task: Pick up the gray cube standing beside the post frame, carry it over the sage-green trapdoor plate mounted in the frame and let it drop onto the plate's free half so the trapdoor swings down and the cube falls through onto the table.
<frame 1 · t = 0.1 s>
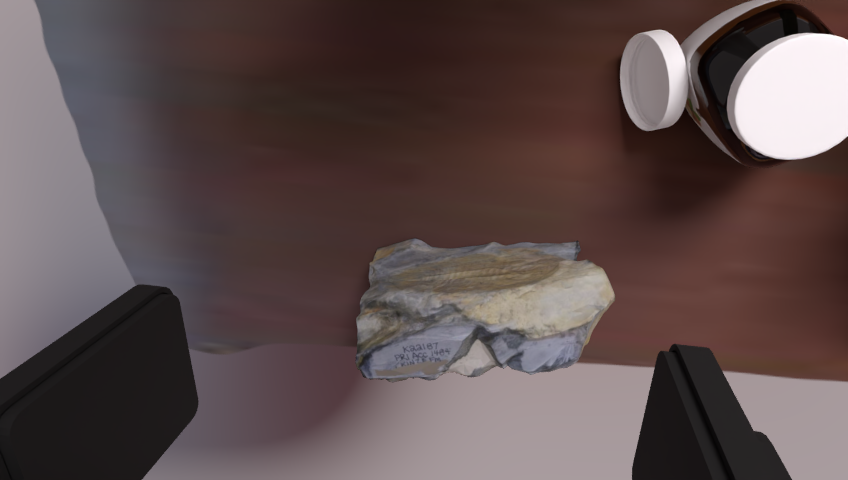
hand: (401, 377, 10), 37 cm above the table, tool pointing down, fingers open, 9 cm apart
spread jar: (700, 79, 40), on the table
fossil rock: (488, 282, 51), on the table
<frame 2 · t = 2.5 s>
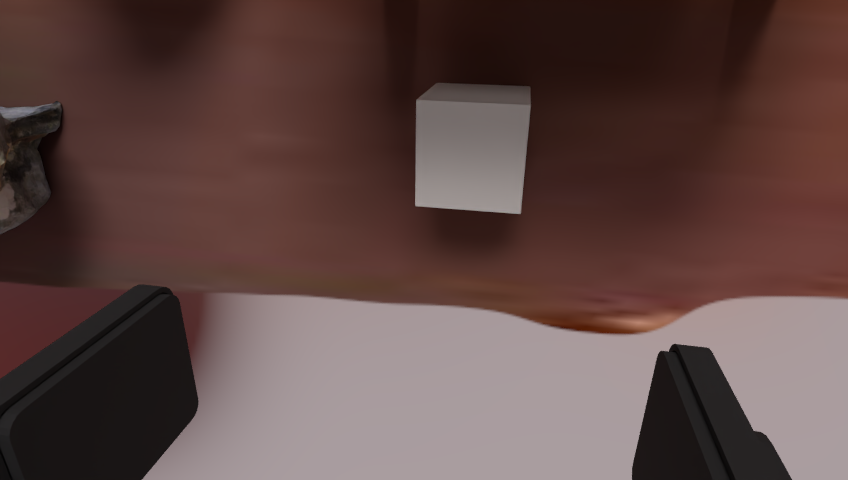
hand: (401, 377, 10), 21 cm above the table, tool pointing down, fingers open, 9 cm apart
gray cube: (480, 130, 30), on the table
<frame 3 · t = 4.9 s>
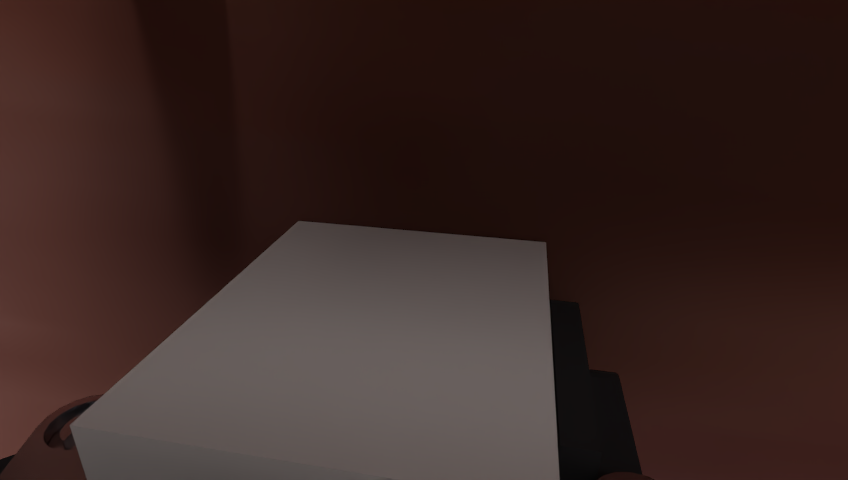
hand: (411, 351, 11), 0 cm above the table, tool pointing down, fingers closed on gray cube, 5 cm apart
gray cube: (416, 337, 12), on the table, touching gripper
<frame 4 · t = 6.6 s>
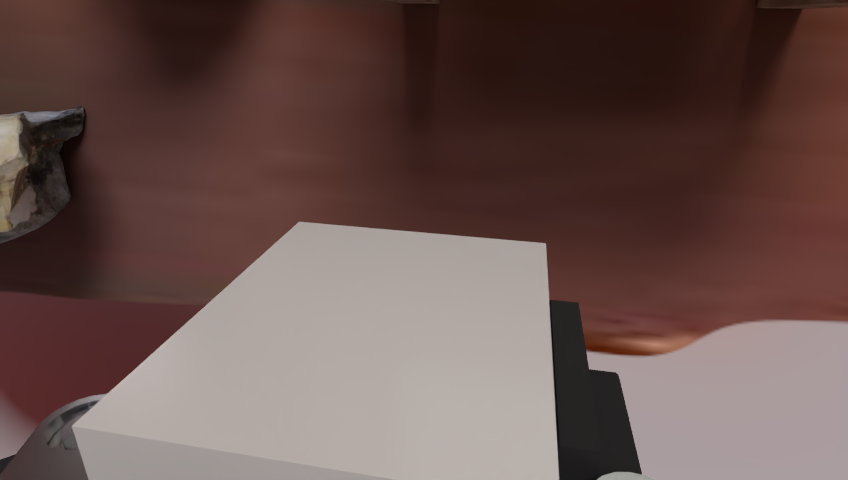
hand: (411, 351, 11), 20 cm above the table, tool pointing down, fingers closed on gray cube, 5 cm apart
gray cube: (416, 338, 12), point 20 cm above the table, touching gripper
fossil rock: (9, 174, 37), on the table
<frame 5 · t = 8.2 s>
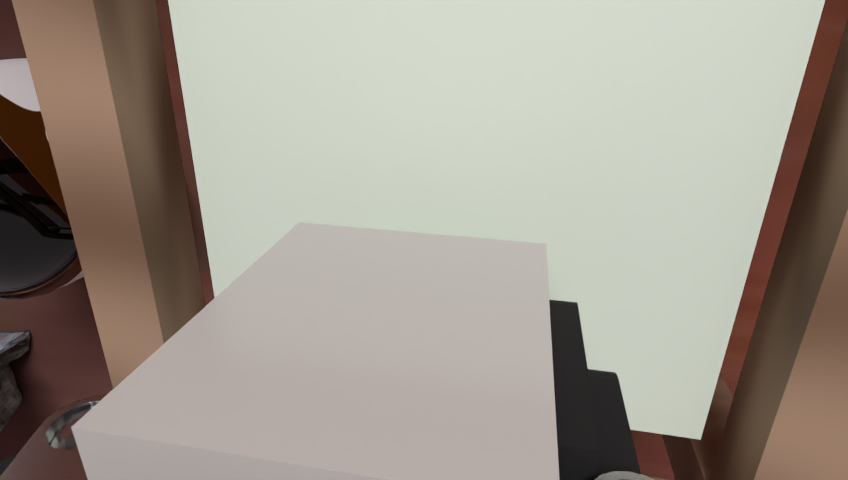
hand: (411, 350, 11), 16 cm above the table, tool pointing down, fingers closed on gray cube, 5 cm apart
gray cube: (416, 338, 12), point 15 cm above the table, touching gripper
trapdoor: (455, 196, 13), point 12 cm above the table, hinge at 0.0°
spread jar: (83, 155, 30), on the table
trapdoor frame: (493, 124, 25), on the table
when the fingers open (16 cm above the table, at t = 8.4 s): gray cube drops 9 cm and tips over, point 6 cm above the table.
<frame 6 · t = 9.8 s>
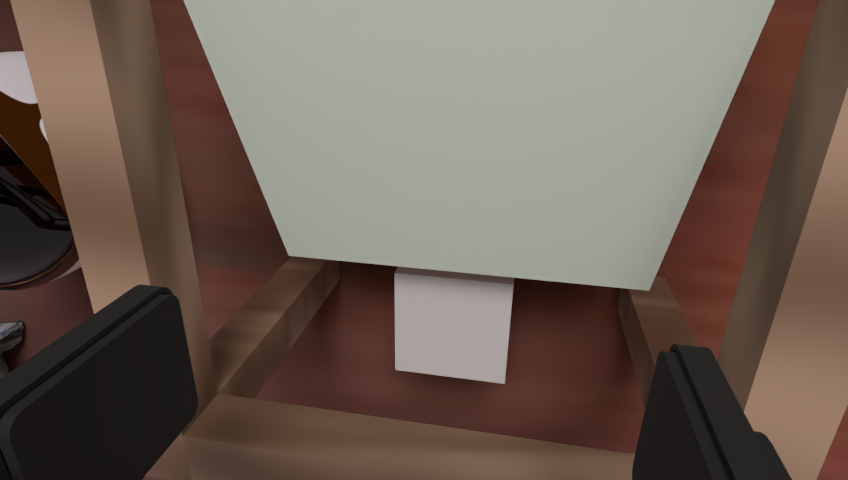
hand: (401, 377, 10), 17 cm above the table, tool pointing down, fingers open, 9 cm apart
gray cube: (450, 329, 23), point 6 cm above the table, tilted 180°
trapdoor: (457, 136, 16), point 10 cm above the table, hinge at -26.1°
spread jar: (76, 148, 30), on the table
trapdoor frame: (483, 115, 25), on the table
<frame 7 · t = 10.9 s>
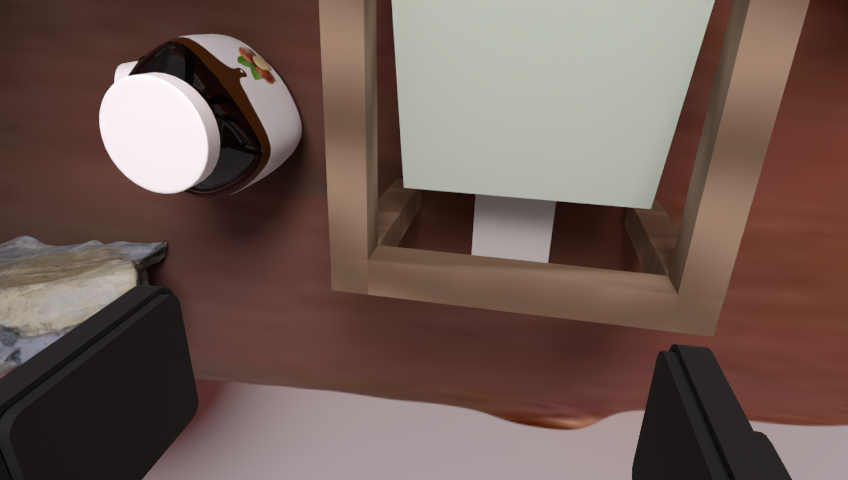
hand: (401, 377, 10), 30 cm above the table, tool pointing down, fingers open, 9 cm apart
gray cube: (512, 225, 34), point 6 cm above the table, tilted 180°
trapdoor: (534, 92, 26), point 11 cm above the table, hinge at -17.2°
spread jar: (229, 107, 41), on the table
trapdoor frame: (533, 83, 36), on the table
fossil rock: (104, 280, 51), on the table
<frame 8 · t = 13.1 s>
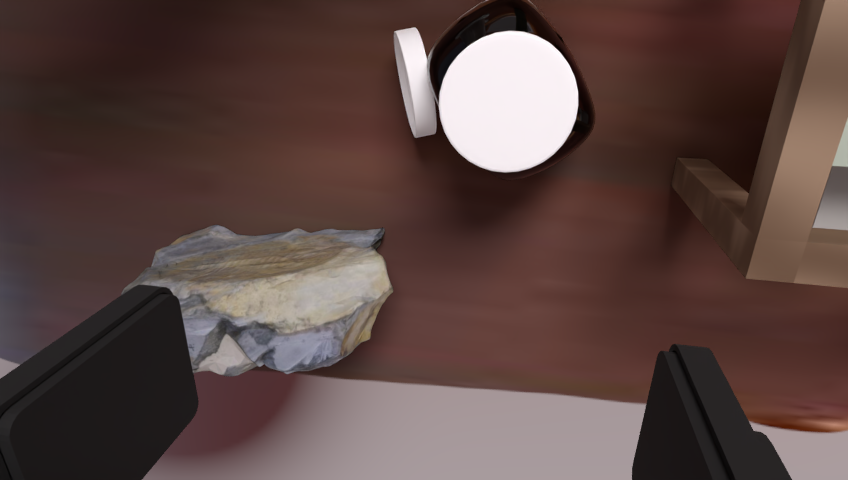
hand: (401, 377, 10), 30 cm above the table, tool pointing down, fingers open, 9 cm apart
spread jar: (484, 81, 37), on the table
fossil rock: (300, 273, 46), on the table
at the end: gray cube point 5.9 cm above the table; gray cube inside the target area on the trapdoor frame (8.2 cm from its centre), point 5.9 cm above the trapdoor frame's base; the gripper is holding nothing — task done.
